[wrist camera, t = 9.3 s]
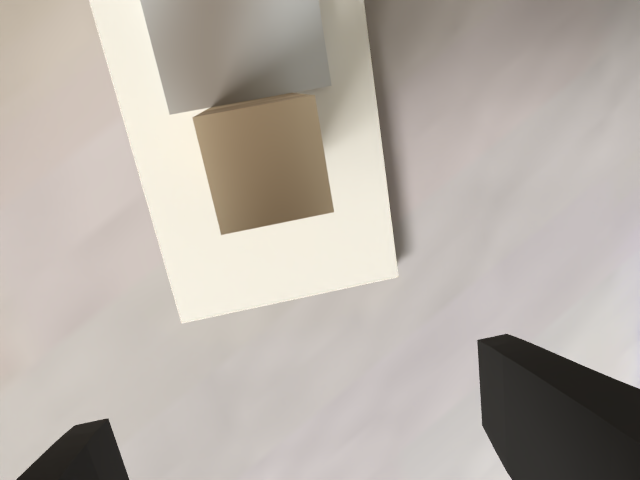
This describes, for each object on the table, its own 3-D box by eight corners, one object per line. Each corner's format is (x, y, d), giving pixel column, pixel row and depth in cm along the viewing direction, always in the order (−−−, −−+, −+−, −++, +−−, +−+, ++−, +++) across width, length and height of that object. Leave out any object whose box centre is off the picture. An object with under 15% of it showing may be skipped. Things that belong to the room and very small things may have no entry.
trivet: (345, -87, 15) (351, -98, 14) (391, 267, 19) (398, 276, 18) (83, -48, 15) (72, -57, 14) (185, 311, 18) (181, 323, 17)
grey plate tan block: (294, -134, 14) (326, -287, 8) (340, 162, 17) (389, 201, 11) (115, -109, 13) (20, -251, 8) (192, 190, 16) (162, 247, 10)
